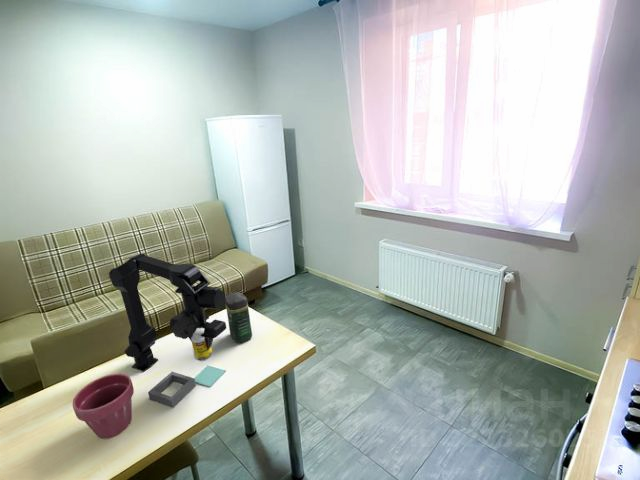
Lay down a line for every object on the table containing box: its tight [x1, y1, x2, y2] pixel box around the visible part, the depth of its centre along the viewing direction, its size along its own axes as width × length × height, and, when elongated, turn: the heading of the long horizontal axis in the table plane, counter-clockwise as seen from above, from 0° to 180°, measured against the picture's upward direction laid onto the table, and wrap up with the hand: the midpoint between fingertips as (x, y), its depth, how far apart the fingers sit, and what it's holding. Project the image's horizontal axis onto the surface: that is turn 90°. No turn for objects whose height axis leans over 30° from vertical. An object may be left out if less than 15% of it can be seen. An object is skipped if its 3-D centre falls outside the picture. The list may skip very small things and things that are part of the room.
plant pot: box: [72, 373, 135, 440], centre depth 96 cm, size 14×14×13 cm
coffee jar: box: [224, 291, 253, 344], centre depth 133 cm, size 10×8×19 cm
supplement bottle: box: [190, 328, 213, 362], centre depth 111 cm, size 6×6×10 cm
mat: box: [193, 364, 227, 388], centre depth 115 cm, size 8×8×1 cm
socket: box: [147, 371, 197, 409], centre depth 108 cm, size 10×10×3 cm
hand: (202, 346), depth 111 cm, fingers closed on supplement bottle, 5 cm apart
